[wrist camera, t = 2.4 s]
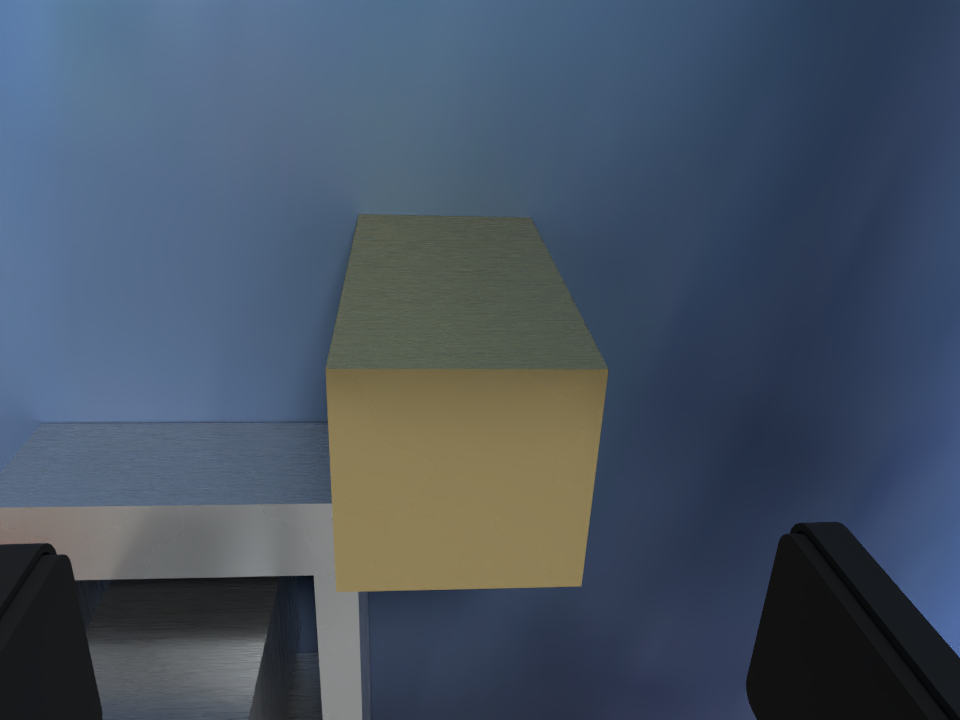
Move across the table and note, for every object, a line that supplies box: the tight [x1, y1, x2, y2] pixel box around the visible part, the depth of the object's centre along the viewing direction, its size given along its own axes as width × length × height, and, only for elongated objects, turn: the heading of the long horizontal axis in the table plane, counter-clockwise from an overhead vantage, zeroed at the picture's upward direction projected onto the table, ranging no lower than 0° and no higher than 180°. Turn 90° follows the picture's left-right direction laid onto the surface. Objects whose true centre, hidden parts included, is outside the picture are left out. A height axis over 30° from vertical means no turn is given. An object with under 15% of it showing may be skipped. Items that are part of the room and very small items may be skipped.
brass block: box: [326, 214, 609, 592], centre depth 16 cm, size 4×4×8 cm
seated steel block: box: [86, 576, 301, 720], centre depth 19 cm, size 4×4×8 cm
